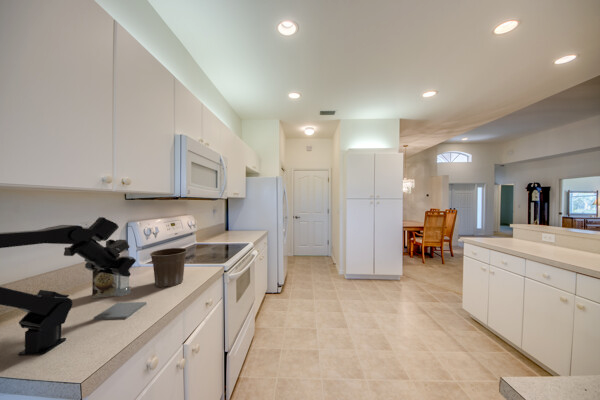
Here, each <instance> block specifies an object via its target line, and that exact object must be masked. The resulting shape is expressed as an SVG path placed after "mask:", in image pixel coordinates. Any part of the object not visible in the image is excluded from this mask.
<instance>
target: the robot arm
mask: <svg viewBox="0 0 600 400" xmlns="http://www.w3.org/2000/svg"><path fill="white" fill-rule="evenodd" d="M118 229H119V225H118V223H116V222H114V221H112V220H110V219H107V218H106V217H103V216H100V217H99V216H98V218H97V219H96V220H95V221H94V222H93V223H92V224H91V225H89V227H83V226H82V225H77V224H76V225H75V224H74V225H73V224H58V225H54V226H49V227H45V228H40V229H37V230H36V229H35V230H23V231H6V232H5V231H4V232H0V249H4V248H13V247H14V248H16V247H23V246H32V245H41V244H51V245H52V244H53V245H56V244H57V245H70V246H69V247H64V248H63V249H64V251H63V256H64V257H73V256H75V255H78V256H80V257H81V258H83V259H84V262H85V264H84V265H85V266H84V268H85V269H87V270H89V271H92V272H93V271H94V270H95V268H97V269H100V270H99V272H101V273H107V274H113V275H120V276H126V277H129V278H130V276H131V273H130V270H129V269H131V268H132V266H133V265H134V264H135V263H136V262H137V259H135V258H134V257H132V256H124V257H122V256H121V254H120V253H122V252H124V251H125V250H127V249H130V244H129V242H128V241H127V239H116V240H114V239H109V238H110V237H111V236H112V235H113V234H115V232H116V231H117V230H118ZM102 241H103V242H105V246H103V244H101V243H100V242H102ZM118 257H121V258H118ZM117 258H118V259H117ZM94 266H95V268H93V267H94ZM69 296H70V295H69V294H62V293H59V292H57V291H51V290H45V289H39V291H38V293H37V294H33V293H30V292H29V293H28V292H25V291H20V290H15V289H13V288H12V289H11V288H9V287H8V288H7V287H3V286H0V306H3V307H8V308H9V307H10V308H16V309H19V310H21V311H23V312H25V313H26V314H24V316H23V317H22V318H21V319H20V320H19V321H18V324H19V326H20V327H21V328H22V329H27V330H26V331H24V349H23V350H21V351H19V352H18V356H31V355H32V356H33V355H35V356H36V355H44V354H46V353H47V352H49V351H51V350H53V348H56V347H58V345H60V344H62V343H63V342H65V341H67V338H66V337H62V325H63V324H65V322H66V320H67V317H68V315H69V312H71V309H72V308H73V299H72V298H69Z"/></svg>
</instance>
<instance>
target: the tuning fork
mask: <svg viewBox="0 0 600 400" xmlns="http://www.w3.org/2000/svg"><path fill="white" fill-rule="evenodd" d="M130 269H131V268H130ZM130 269H129V271H130ZM129 294H131V286H130V276H129V277H126V276H120V275H117V288H116V290H115V295H117V296H118V297H123V296H126V295H129ZM117 296H116V297H117Z"/></svg>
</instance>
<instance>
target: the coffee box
mask: <svg viewBox="0 0 600 400" xmlns="http://www.w3.org/2000/svg"><path fill="white" fill-rule="evenodd" d="M121 257H124V256H123V255H122V256H119V257H118V258H121ZM118 258H117V259H118ZM93 268H95V266H94V267H93ZM99 270H100V269H97V268H95V270H94V271H92V278H91V279H92V283H91V284H92V286H91V287H92V289H91V291H92V292H91V293H92V295H91V298H92V299H95V298H96V299H97V298H107V297H108V298H110V297H117V295H115V290H116V288H117V275H113V274H107V273H101V272H99Z"/></svg>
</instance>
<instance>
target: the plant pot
mask: <svg viewBox="0 0 600 400" xmlns="http://www.w3.org/2000/svg"><path fill="white" fill-rule="evenodd" d="M187 252H188V249H187V248H182V247H171V248H168V247H167V248H163V249H157V250H154V251H151V252H150V253H149V256H151V257H150V258H151V262H152V266H153V277H154V285H155V287H157V288H167V287H168V288H170V287H174V286H177V285H179V284H182V283H183V281H184V275H185V274H184V273H185V262H186V261H185V260H186V258H187Z"/></svg>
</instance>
